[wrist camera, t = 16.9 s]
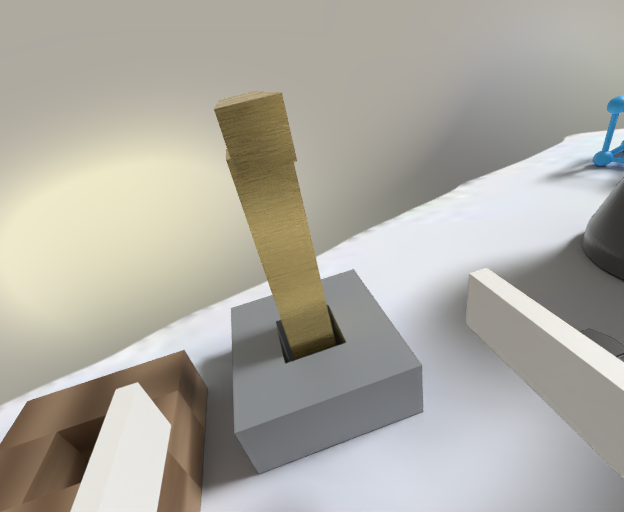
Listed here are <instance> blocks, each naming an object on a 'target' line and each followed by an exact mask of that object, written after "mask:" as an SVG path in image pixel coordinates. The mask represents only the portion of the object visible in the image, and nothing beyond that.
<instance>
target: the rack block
mask: <svg viewBox="0 0 624 512" xmlns="http://www.w3.org/2000/svg"><path fill="white" fill-rule="evenodd" d="M321 283H322V287H323V291H324V296H325V300H326V304H327V309H328V313H329V317H330V322H331V326H332V330H333V335H334V339H335V343H336V345H338V346H335V347H332V348H330V349H327V350H324V351H321V352H318V353H315V354H312V355H309V356H306V357H303V358H301V359H298V360H295V359H294V356H293V353H292V350H291V347H290V344H289V341H288V339H287V336H286V333H285V330H284V327H283V324H282V321H281V318H280V315H279V312H278V309H277V306H276V304H275V301H274V298H273V295H271V296H268V297H265V298H262V299H259V300H255V301H252V302H249V303H246V304H243V305H240V306H236V307H233V308H231V326H232V364H233V403H234V434H235V435H236V437H237V439H238V440H239V442H240V444H241V445H242V447H243V449H244V450H245V452H246V454H247V455H248V457H249V459H250V460H251V462H252V464H253V465H254V467H255V468H256V470H257V472H258V473H259V474H261V473H263V472H266V471H268V470H271V469H274V468H276V467H279V466H282V465H284V464H287V463H289V462H292V461H295V460H297V459H300V458H303V457H305V456H308V455H310V454H313V453H316V452H318V451H321V450H323V449H326V448H329V447H331V446H334V445H337V444H339V443H342V442H344V441H347V440H350V439H352V438H355V437H358V436H360V435H363V434H365V433H368V432H371V431H373V430H376V429H378V428H381V427H384V426H386V425H389V424H392V423H394V422H397V421H399V420H402V419H405V418H407V417H410V416H412V415H415V414H418V413H420V412H423V388H422V365H421V363H420V362H419V360H418V359H417V358H416V356H415V355H414V353H413V352H412V351H411V349H410V348H409V346H408V345H407V344H406V342H405V341H404V339H403V338H402V336H401V335H400V334H399V332H398V331H397V329H396V328H395V327H394V325H393V324H392V322H391V321H390V320H389V318H388V317H387V315H386V314H385V313H384V311H383V310H382V308H381V307H380V306H379V304H378V303H377V301H376V300H375V299H374V297H373V296H372V294H371V293H370V292H369V290H368V289H367V287H366V286H365V285H364V283H363V282H362V280H361V279H360V278H359V276H358V275H357V273H356V272H355V271H354V269H353V270H350V271H347V272H344V273H340V274H337V275H334V276H331V277H328V278H325V279H321ZM293 360H295V361H293ZM290 361H292V362H290Z"/></svg>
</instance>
